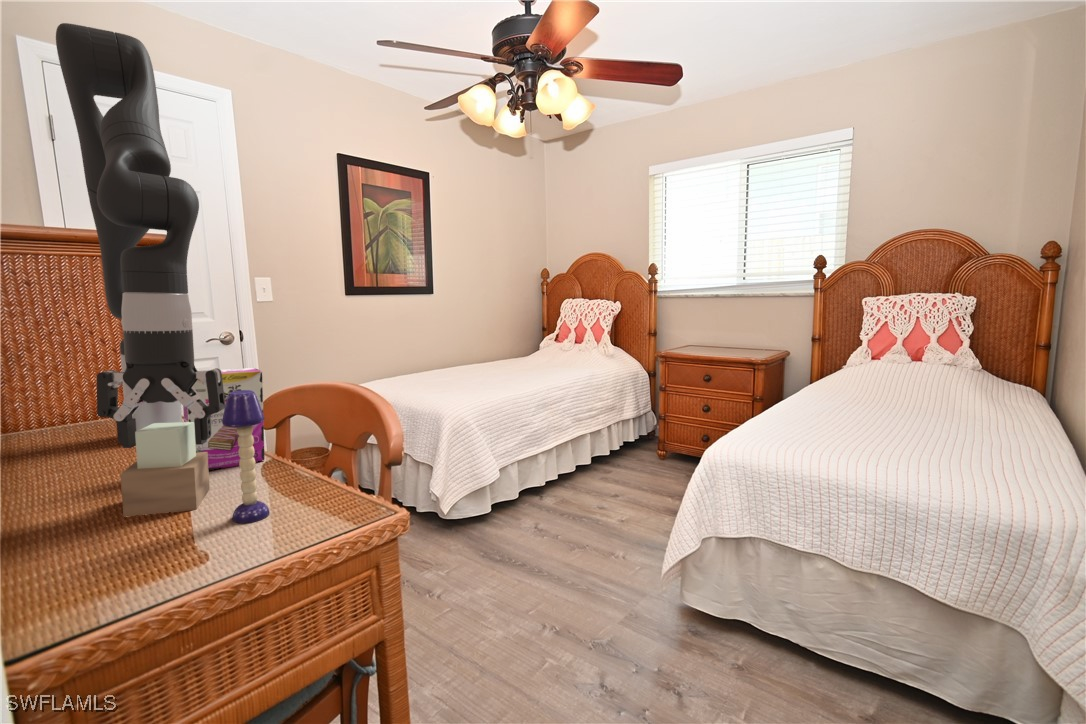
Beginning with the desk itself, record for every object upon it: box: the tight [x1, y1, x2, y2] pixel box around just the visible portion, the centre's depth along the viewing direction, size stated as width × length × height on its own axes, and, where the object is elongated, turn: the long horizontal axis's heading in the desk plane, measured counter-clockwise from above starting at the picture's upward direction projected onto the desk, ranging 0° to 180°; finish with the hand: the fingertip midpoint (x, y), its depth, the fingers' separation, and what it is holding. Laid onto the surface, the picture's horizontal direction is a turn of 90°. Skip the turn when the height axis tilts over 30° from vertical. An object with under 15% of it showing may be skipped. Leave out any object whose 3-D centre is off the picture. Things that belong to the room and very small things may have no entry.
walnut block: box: [119, 452, 210, 518], centre depth 71 cm, size 8×8×6 cm
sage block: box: [135, 421, 196, 469], centre depth 70 cm, size 5×5×5 cm
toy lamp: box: [222, 390, 270, 524], centre depth 66 cm, size 5×5×17 cm
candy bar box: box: [182, 367, 265, 471], centre depth 87 cm, size 11×5×16 cm, turn 135°
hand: (166, 445), depth 71 cm, fingers open, 8 cm apart
